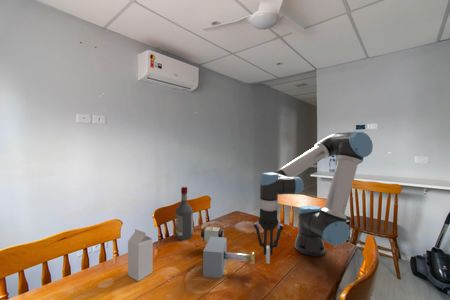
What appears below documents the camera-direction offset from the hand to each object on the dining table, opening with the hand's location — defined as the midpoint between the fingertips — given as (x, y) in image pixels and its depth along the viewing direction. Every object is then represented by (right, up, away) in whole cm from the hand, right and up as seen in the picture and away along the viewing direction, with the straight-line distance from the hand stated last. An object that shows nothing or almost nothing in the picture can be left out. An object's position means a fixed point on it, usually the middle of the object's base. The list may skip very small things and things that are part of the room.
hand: (267, 261), depth 91 cm
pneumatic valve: (-26, -4, +21) cm, 34 cm away
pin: (-13, -1, +2) cm, 14 cm away
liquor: (-44, -4, +35) cm, 56 cm away
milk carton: (-55, -5, -2) cm, 56 cm away
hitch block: (-23, -5, +4) cm, 24 cm away
